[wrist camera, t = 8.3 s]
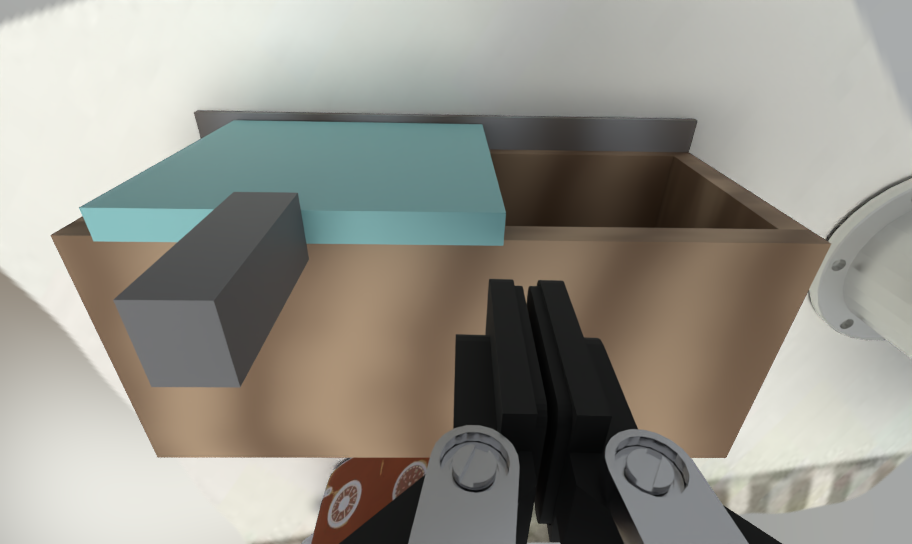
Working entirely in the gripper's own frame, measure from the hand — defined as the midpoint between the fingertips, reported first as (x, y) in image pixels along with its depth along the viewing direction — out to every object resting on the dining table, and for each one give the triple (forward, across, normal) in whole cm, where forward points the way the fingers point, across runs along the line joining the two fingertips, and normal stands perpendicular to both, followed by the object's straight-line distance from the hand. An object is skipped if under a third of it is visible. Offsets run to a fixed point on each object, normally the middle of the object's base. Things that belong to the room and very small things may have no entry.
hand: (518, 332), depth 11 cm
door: (+17, +7, 0) cm, 19 cm away
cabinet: (+18, +2, +7) cm, 19 cm away
